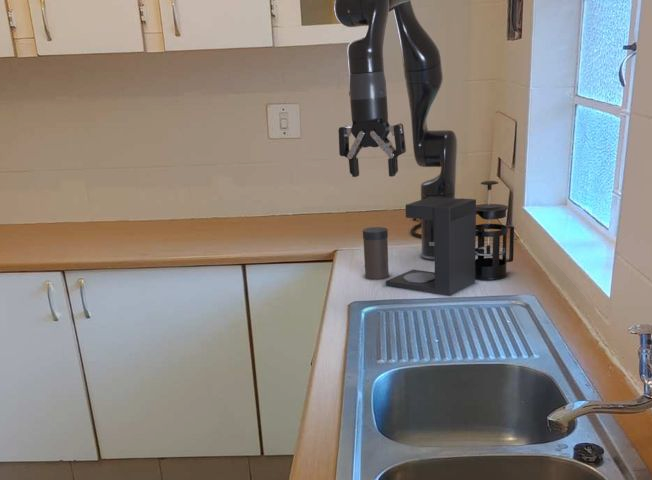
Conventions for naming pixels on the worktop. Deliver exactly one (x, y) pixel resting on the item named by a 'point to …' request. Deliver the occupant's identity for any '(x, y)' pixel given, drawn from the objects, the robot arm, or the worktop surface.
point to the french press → (494, 265)
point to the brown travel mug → (376, 252)
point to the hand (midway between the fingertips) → (373, 176)
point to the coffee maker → (444, 246)
